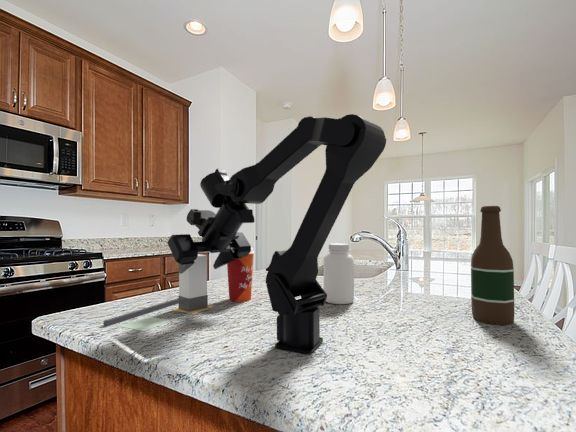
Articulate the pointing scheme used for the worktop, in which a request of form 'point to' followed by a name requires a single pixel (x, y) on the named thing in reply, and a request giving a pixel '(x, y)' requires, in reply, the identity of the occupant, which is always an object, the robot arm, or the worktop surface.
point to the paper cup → (240, 278)
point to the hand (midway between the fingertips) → (197, 269)
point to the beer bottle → (492, 273)
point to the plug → (194, 286)
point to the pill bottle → (339, 274)
